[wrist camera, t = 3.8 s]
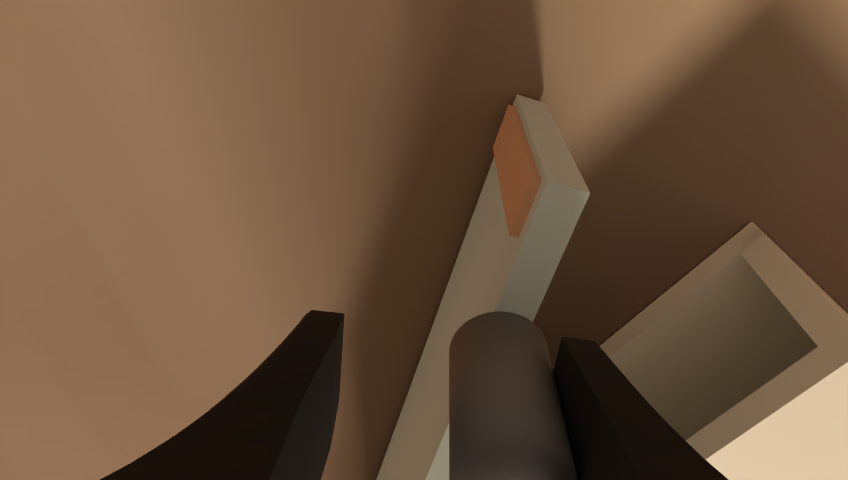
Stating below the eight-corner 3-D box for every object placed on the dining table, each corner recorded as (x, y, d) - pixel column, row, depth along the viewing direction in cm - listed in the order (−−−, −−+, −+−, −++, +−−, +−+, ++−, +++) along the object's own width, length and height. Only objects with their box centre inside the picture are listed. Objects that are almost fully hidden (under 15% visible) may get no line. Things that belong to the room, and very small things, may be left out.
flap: (404, 513, 24) (380, 845, 16) (350, 501, 24) (297, 830, 16) (567, 110, 18) (681, 305, 9) (494, 87, 17) (540, 266, 9)
